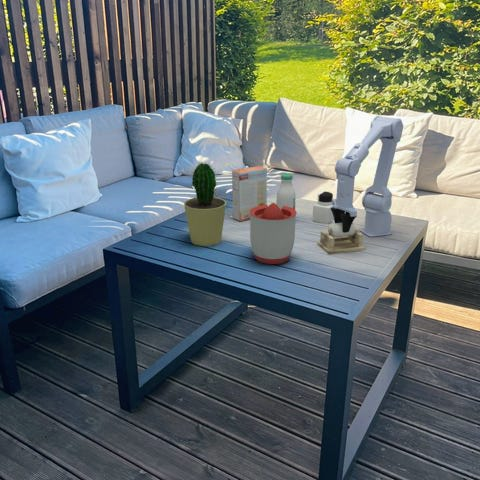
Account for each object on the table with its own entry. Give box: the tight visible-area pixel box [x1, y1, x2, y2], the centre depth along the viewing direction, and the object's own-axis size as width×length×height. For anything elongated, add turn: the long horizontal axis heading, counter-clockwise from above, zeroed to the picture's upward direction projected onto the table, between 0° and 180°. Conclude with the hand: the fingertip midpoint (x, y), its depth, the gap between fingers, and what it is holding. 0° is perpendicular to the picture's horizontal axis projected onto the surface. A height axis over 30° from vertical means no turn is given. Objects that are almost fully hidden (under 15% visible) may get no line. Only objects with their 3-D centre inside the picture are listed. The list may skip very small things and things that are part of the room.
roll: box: [327, 222, 356, 238], centre depth 182 cm, size 8×5×5 cm, turn 108°
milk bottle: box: [275, 173, 296, 210], centre depth 205 cm, size 8×8×20 cm
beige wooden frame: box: [316, 229, 366, 255], centre depth 183 cm, size 10×14×6 cm
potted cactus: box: [183, 162, 227, 247], centre depth 185 cm, size 15×15×30 cm
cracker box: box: [231, 165, 268, 223], centre depth 211 cm, size 14×6×21 cm, turn 124°
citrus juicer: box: [249, 202, 298, 265], centre depth 172 cm, size 16×17×20 cm
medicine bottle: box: [312, 191, 334, 225], centre depth 209 cm, size 7×7×12 cm
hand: (342, 229), depth 182 cm, fingers closed on roll, 5 cm apart
